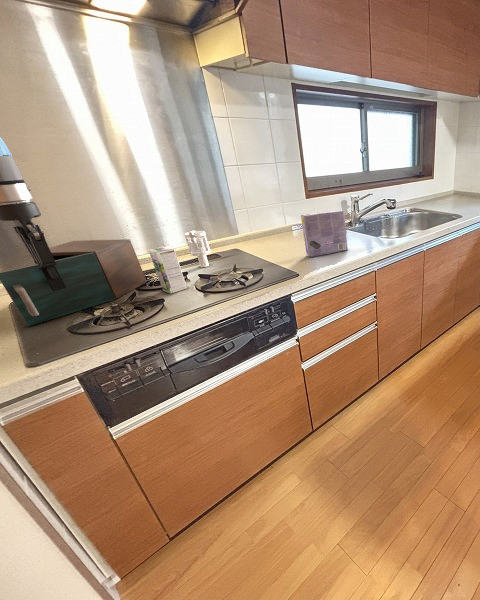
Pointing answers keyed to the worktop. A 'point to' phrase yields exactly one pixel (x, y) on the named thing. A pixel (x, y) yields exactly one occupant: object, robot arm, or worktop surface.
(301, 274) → the worktop surface
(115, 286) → the cupboard
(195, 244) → the white slotted fitting
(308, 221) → the purple printed carton
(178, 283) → the syrup box
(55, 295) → the cupboard door
